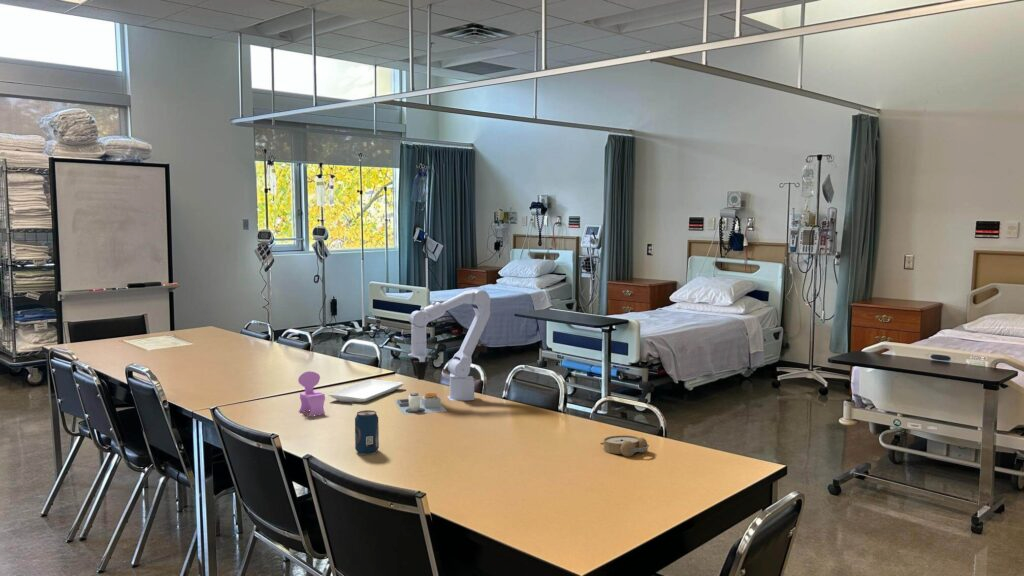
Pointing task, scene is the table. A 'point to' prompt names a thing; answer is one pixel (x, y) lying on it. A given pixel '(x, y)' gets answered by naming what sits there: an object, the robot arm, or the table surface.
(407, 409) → the rubber pad
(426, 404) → the panel
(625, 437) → the alarm clock
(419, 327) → the robot arm
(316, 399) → the toy chair
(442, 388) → the table surface
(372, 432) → the soda can
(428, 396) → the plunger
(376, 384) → the tray
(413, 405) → the cartridge
